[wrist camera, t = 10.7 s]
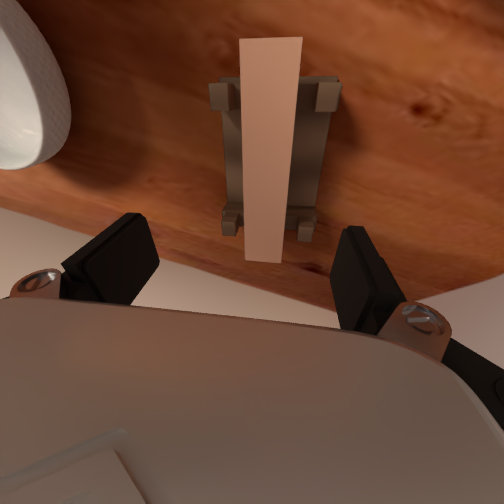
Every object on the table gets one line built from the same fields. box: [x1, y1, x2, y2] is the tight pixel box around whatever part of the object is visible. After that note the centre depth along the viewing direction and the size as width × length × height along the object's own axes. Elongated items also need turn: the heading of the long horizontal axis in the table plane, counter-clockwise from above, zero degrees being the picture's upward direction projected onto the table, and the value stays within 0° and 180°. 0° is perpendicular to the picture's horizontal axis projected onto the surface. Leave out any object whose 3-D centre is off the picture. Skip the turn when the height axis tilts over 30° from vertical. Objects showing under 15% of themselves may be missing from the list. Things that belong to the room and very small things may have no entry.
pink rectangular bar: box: [239, 37, 303, 263], centre depth 21 cm, size 18×4×4 cm, turn 0°
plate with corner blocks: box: [208, 76, 343, 242], centre depth 23 cm, size 15×11×6 cm
